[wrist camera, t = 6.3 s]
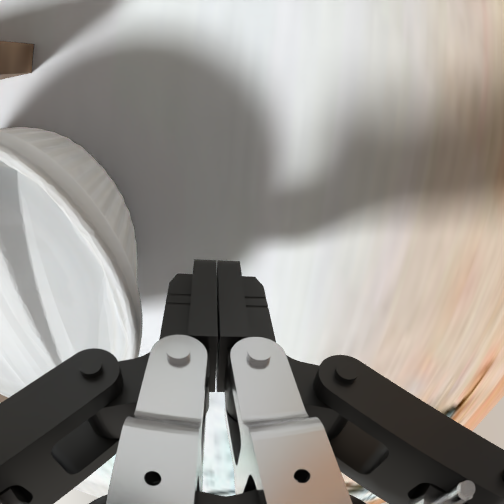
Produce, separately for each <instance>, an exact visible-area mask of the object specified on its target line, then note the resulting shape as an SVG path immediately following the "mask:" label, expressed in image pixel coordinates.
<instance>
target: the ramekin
mask: <svg viewBox="0 0 504 504" xmlns="http://www.w3.org/2000/svg"><path fill="white" fill-rule="evenodd" d="M141 337H142V309H141V301H140V295H139V290H138V286H137V244H136V239H135V231H134V226H133V223H132V221H131V216H130V212H129V210H128V208H127V207H126V205H125V202H124V198H123V196H122V195H121V193H120V192H119V190H118V188H117V186H116V184H115V183H114V181H113V180H112V179H111V178H110V177H109V176H108V174H107V172H106V171H105V169H104V168H103V167H102V166H101V165H100V164H99V163H98V162H97V161H96V160H95V159H94V157H92V156H91V155H90V154H89V153H87V151H86V150H85V149H84V148H83V147H82V146H80V145H78V144H75V143H74V142H73V141H72V140H70V139H69V138H68V137H64V136H61V135H59V134H57V133H55V132H51V131H45V130H43V129H39V128H29V127H15V128H3V129H0V394H1V395H3V396H6V397H8V398H9V397H11V396H12V395H14V394H15V393H17V392H18V391H20V390H21V389H23V388H24V387H26V386H27V385H29V384H30V383H32V382H33V381H35V380H36V379H38V378H39V377H41V376H42V375H44V374H45V373H47V372H49V371H50V370H52V369H53V368H55V367H56V366H58V365H59V364H61V363H62V362H64V361H65V360H67V359H68V358H70V357H72V356H73V355H75V354H76V353H78V352H80V351H82V350H85V349H91V348H98V349H103V350H106V351H108V352H110V353H111V354H113V355H114V356H115V357H116V359H117V360H118V361H123V360H129V359H134V358H138V355H139V350H140V345H141Z"/></svg>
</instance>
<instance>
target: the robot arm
mask: <svg viewBox="0 0 504 504" xmlns="http://www.w3.org/2000/svg"><path fill="white" fill-rule="evenodd" d="M215 378H216V380H217V392H225V421H226V427H227V433H228V439H229V445H230V451H231V457H232V462H233V468H234V483H235V492H236V495H233V496H227V497H224V496H218V495H214V494H209V493H205V492H202V481H203V457H204V441H205V427H206V413H207V411H208V408H209V392H215ZM115 454H116V457H115V462H114V466H113V471H112V476H111V480H110V485H109V490H108V495H105V496H102V497H100V498H98V499H96V500H94V501H92V502H91V503H89V504H366V503H364V502H363V501H361V500H360V499H358V498H356V497H354V496H352V495H349V493H348V490H347V487H346V485H345V482H344V479H343V477H342V474H341V472H342V473H344V474H345V475H346V476H348V477H349V478H351V479H352V480H354V481H355V482H357V483H358V484H360V485H361V486H362V487H364V488H365V489H367V490H368V491H370V492H372V493H373V494H375V495H376V496H378V497H379V498H381V499H382V500H384V501H386V502H387V503H389V504H504V450H503V449H501V448H499V447H498V446H496V445H494V444H493V443H491V442H489V441H487V440H486V439H484V438H482V437H481V436H479V435H477V434H476V433H474V432H472V431H471V430H469V429H467V428H466V427H464V426H462V425H461V424H459V423H457V422H456V421H454V420H452V419H451V418H449V417H447V416H446V415H444V414H443V413H441V412H439V411H438V410H436V409H434V408H433V407H431V406H430V405H428V404H426V403H425V402H423V401H421V400H420V399H418V398H417V397H415V396H413V395H412V394H410V393H409V392H407V391H406V390H404V389H402V388H401V387H399V386H398V385H396V384H394V383H393V382H391V381H390V380H388V379H387V378H385V377H384V376H382V375H380V374H379V373H377V372H376V371H374V370H373V369H371V368H370V367H368V366H366V365H365V364H363V363H362V362H360V361H359V360H357V359H355V358H353V357H350V356H345V355H334V356H331V357H328V358H326V359H325V360H324V361H323V362H322V363H321V365H320V366H318V365H313V364H309V363H304V362H300V361H297V360H294V359H292V358H290V357H288V356H287V355H286V354H285V352H284V350H283V349H282V347H281V346H280V345H278V344H277V343H276V340H275V336H274V332H273V327H272V323H271V318H270V314H269V309H268V305H267V301H266V296H265V292H264V287H263V285H262V284H261V283H260V282H259V281H258V280H257V279H256V278H255V277H245V276H242V274H241V267H240V262H239V261H220V260H218V262H217V275H216V260H196V259H194V267H193V274H177V275H176V276H175V277H174V278H173V279H172V281H171V282H170V283H169V288H168V295H167V299H166V305H165V311H164V316H163V322H162V328H161V334H160V339H159V341H157V342H156V343H155V344H154V346H153V347H152V349H151V352H149V353H148V354H146V355H144V356H141V357H139V358H134V359H129V360H123V361H118V360H117V359H116V357H115V356H114V355H113V354H111V353H110V352H108V351H106V350H103V349H98V348H91V349H85V350H82V351H80V352H78V353H76V354H75V355H73V356H72V357H70V358H68V359H67V360H65V361H64V362H62V363H61V364H59V365H58V366H56V367H55V368H53V369H52V370H50V371H49V372H47V373H45V374H44V375H42V376H41V377H39V378H38V379H36V380H35V381H33V382H32V383H30V384H29V385H27V386H26V387H24V388H23V389H21V390H20V391H18V392H17V393H15V394H14V395H12V396H11V397H9V398H7V399H6V400H4V401H3V402H1V403H0V504H54V503H55V502H56V501H57V500H59V499H60V498H61V497H63V496H64V495H65V494H67V493H68V492H69V491H71V490H72V489H73V488H74V487H76V486H77V485H78V484H79V483H81V482H82V481H83V480H85V479H86V478H87V477H88V476H90V475H91V474H92V473H93V472H94V471H96V470H97V469H98V468H99V467H101V466H102V465H103V464H104V463H105V462H107V461H108V460H109V459H110V458H112V457H113V456H114V455H115Z"/></svg>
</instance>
